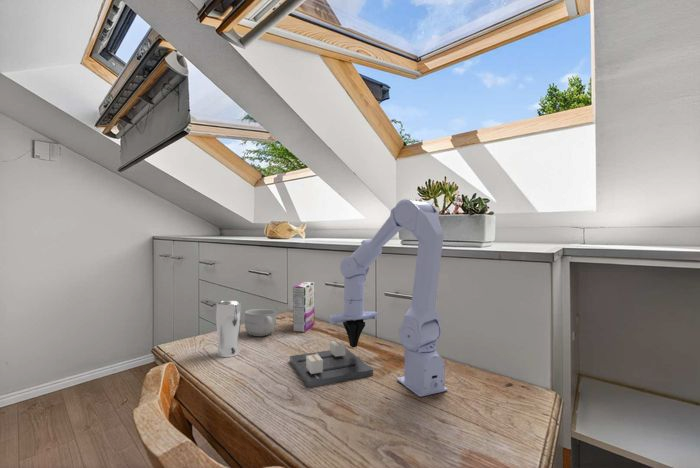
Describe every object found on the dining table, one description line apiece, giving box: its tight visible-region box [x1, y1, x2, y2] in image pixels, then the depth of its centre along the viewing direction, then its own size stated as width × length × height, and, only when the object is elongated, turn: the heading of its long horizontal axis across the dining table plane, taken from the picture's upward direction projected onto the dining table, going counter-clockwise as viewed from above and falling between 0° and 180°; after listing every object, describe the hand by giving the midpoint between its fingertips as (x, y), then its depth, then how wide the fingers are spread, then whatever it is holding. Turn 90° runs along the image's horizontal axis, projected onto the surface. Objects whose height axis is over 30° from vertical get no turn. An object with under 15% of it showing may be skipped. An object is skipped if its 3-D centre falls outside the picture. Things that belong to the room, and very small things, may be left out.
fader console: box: [289, 348, 374, 389], centre depth 89 cm, size 17×17×2 cm
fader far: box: [329, 339, 347, 357], centre depth 94 cm, size 4×3×3 cm
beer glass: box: [215, 299, 242, 359], centre depth 98 cm, size 7×7×15 cm
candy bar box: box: [292, 281, 315, 333], centre depth 125 cm, size 11×5×16 cm, turn 168°
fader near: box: [306, 354, 323, 374], centre depth 83 cm, size 4×3×3 cm
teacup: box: [244, 308, 278, 337], centre depth 116 cm, size 14×11×8 cm
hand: (353, 346), depth 96 cm, fingers closed
